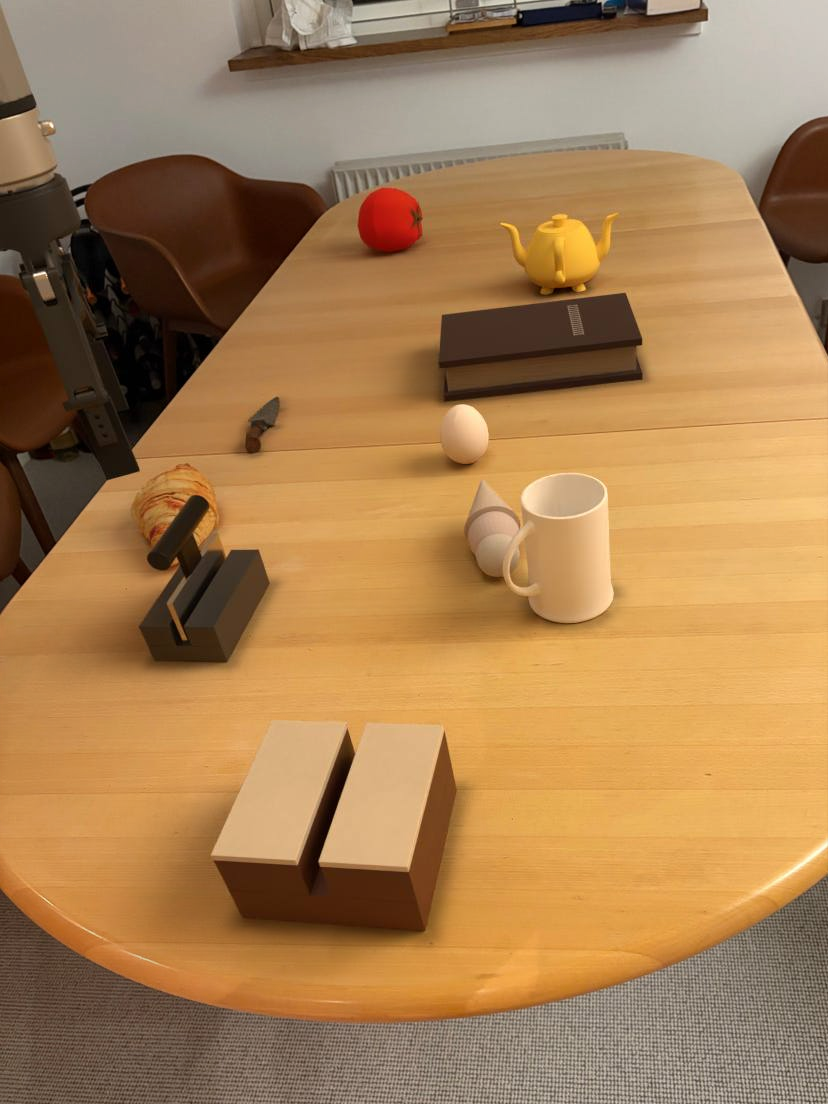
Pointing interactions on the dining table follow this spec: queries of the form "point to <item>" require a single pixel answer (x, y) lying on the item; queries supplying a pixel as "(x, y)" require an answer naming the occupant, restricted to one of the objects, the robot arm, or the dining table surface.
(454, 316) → the book
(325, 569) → the dining table surface
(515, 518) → the ice cream cone
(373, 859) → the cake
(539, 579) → the mug
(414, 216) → the tomato
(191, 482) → the croissant
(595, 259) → the teapot
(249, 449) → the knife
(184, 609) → the ulu knife
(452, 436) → the egg
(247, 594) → the slotted block
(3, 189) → the robot arm
